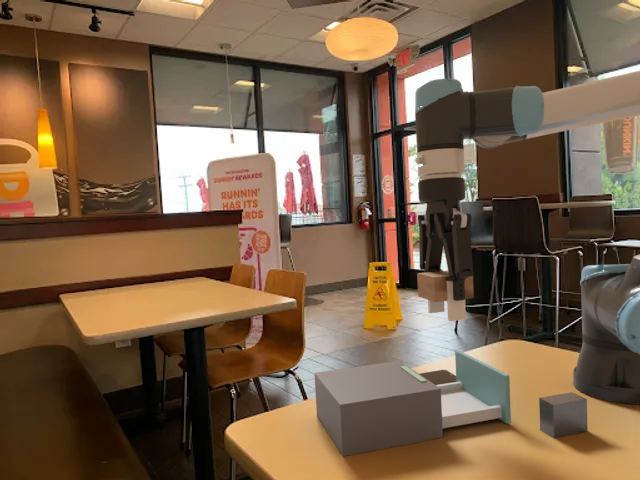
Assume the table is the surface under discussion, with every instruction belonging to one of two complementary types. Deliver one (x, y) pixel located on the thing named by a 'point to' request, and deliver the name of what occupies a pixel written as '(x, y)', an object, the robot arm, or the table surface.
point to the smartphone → (439, 377)
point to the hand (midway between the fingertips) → (446, 315)
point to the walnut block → (439, 286)
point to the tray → (475, 393)
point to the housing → (377, 407)
